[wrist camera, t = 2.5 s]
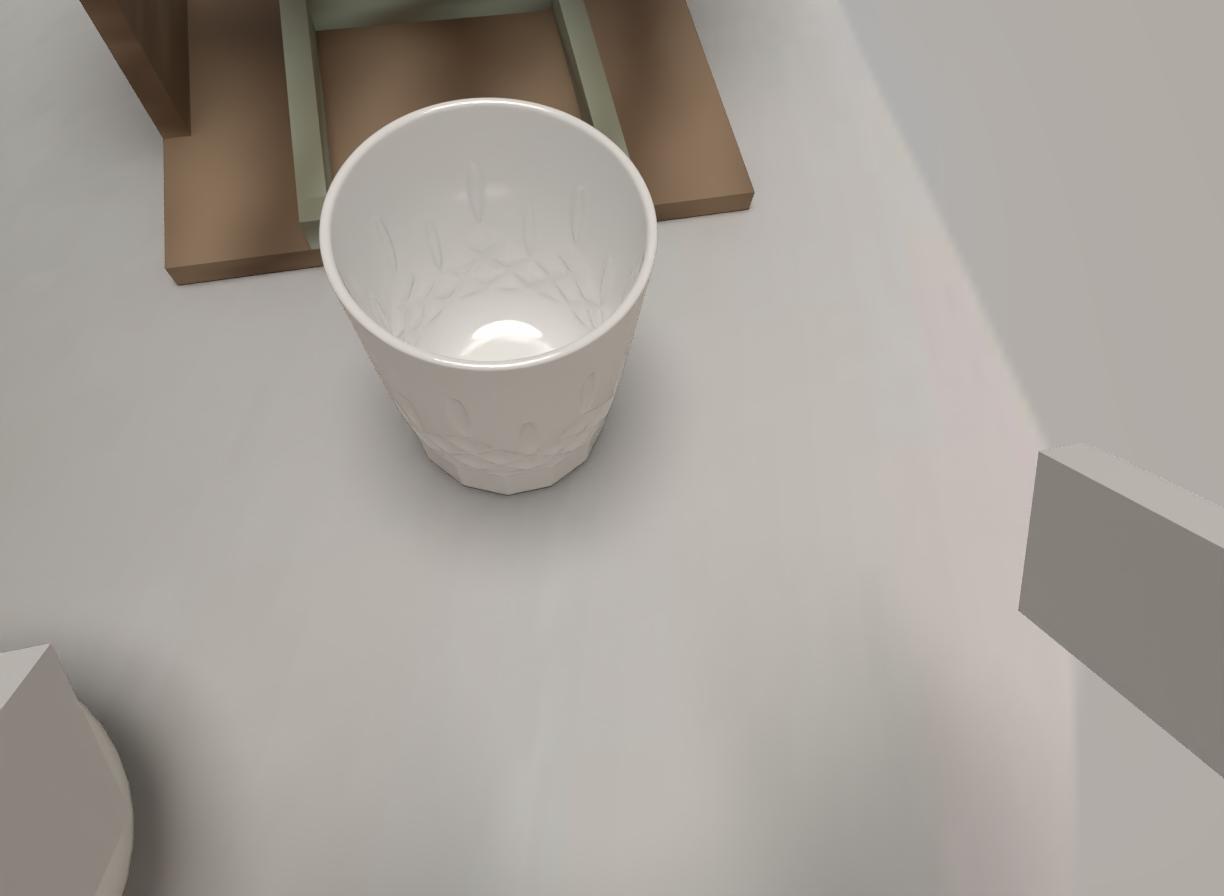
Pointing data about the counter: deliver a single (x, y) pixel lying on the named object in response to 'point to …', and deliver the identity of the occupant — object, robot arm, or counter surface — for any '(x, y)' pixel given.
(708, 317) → the counter surface
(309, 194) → the shelf unit
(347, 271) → the white cup
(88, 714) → the lidded jar
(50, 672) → the robot arm
